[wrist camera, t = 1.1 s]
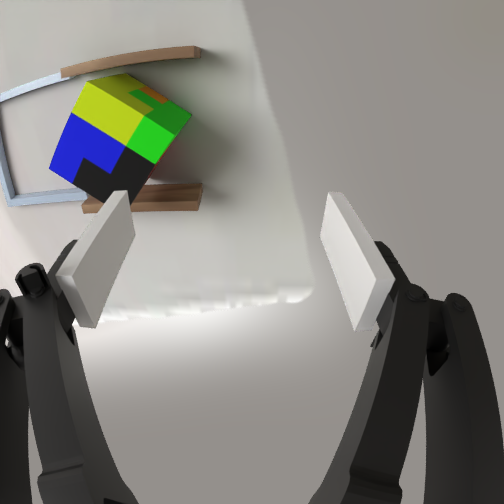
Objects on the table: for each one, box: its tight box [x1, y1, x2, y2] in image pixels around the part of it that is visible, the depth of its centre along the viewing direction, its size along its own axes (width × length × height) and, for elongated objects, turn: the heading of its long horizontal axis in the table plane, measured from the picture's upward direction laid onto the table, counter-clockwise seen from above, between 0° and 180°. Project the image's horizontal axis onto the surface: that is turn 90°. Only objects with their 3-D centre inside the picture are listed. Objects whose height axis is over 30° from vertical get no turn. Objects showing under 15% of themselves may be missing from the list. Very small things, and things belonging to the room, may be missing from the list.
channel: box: [61, 46, 203, 214], centre depth 30 cm, size 18×15×5 cm
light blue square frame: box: [0, 72, 90, 207], centre depth 30 cm, size 18×17×2 cm
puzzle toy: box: [49, 73, 191, 206], centre depth 28 cm, size 10×10×10 cm
